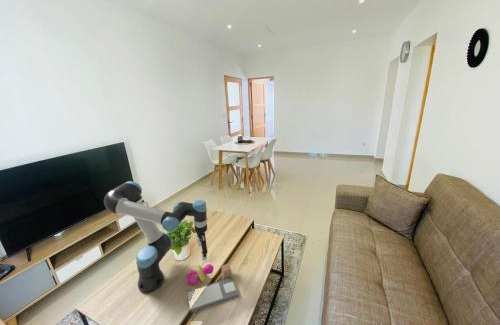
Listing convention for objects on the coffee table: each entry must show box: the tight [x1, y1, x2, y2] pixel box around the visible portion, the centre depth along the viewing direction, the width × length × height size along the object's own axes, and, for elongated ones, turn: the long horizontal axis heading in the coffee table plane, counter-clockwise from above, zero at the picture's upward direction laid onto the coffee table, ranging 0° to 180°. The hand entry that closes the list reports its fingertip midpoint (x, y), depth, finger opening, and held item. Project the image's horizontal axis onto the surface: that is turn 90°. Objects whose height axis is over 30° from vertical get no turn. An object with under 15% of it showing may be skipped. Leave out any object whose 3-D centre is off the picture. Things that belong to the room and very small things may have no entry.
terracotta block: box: [221, 263, 232, 280], centre depth 140 cm, size 5×5×7 cm
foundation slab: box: [187, 276, 240, 313], centre depth 128 cm, size 28×13×2 cm, turn 112°
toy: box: [186, 263, 214, 286], centre depth 137 cm, size 10×18×10 cm
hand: (202, 252), depth 136 cm, fingers open, 13 cm apart
